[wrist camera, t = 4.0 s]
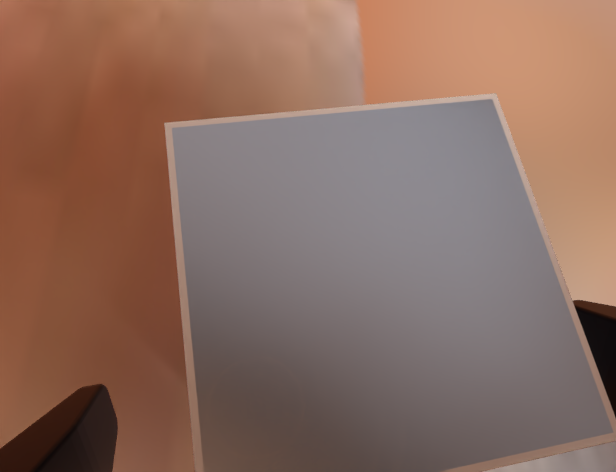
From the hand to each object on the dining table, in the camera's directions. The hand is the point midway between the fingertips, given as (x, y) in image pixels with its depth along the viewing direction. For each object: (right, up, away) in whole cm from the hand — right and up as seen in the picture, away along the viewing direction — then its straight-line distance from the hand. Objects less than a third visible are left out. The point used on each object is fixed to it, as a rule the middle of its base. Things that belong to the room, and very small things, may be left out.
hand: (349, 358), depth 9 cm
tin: (-1, -2, +9) cm, 10 cm away
